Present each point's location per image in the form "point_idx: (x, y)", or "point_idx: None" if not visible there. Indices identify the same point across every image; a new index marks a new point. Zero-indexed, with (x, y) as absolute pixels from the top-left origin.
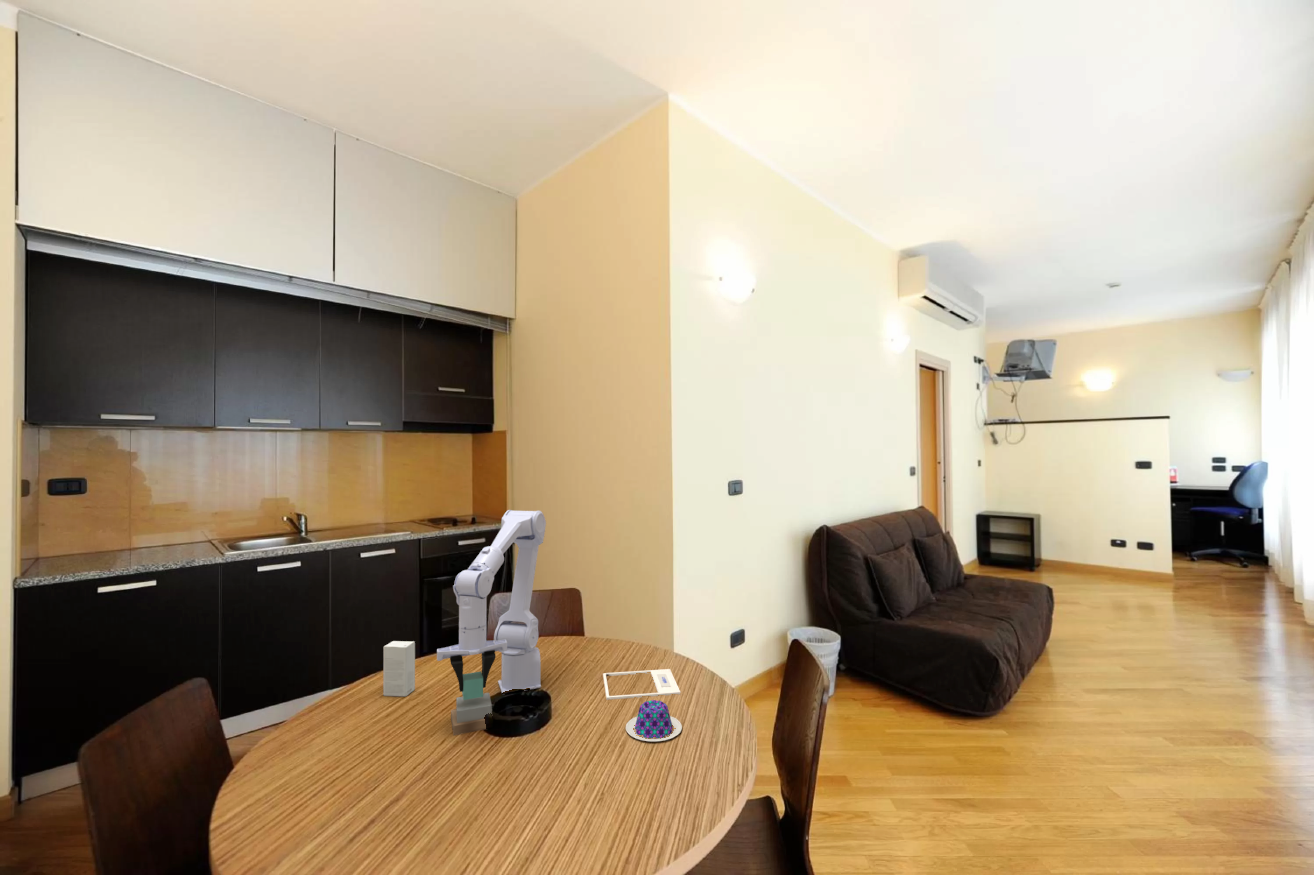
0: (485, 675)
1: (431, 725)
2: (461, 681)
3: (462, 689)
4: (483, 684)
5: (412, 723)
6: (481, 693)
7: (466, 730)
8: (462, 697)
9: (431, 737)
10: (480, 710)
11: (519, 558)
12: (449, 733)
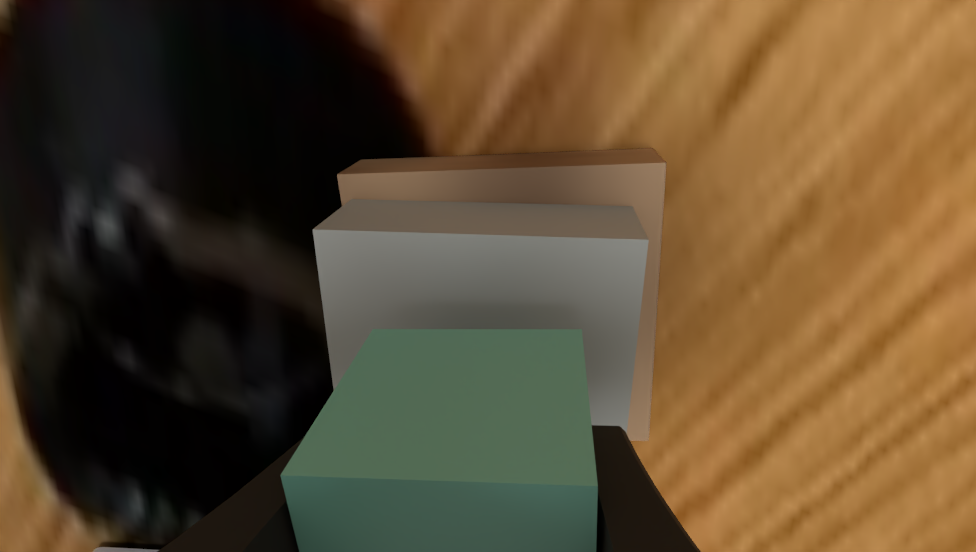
0: (237, 517)
1: (780, 360)
2: (627, 510)
3: (597, 434)
4: None
5: (896, 436)
6: (378, 346)
7: (555, 155)
8: None
9: (816, 181)
10: (424, 223)
11: None
12: (677, 191)
